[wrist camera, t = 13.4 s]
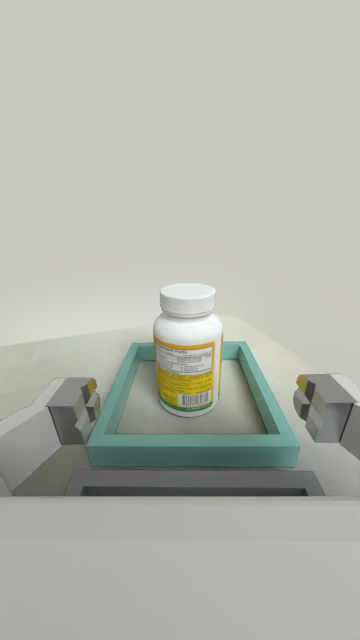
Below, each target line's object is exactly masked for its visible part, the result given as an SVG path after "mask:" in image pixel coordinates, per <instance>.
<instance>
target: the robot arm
mask: <svg viewBox="0 0 360 640" xmlns="http://www.w3.org/2000/svg"><path fill="white" fill-rule="evenodd" d="M296 383H297V385H298V386H299V388H298V389H297V390H296V391H295V392H294V397H293V401H294V407H295V410H296V412H297V414H298V416H299V417H300V418H302V419H303V420H305V421H306V425H305V427H306V429H307V431H308V432H309V434H310V435H311V437H312V439H313V440H314V442H317V443H340V445H341V446H342V447H344V448H345V449H346V450H347V451H349V452H350V453H351V454H353V455H354V456H355V457H356V458H358V459H359V460H360V389H359V388H358V387H357V386H355V385H354V384H353V383H352V382H351V381H350V380H349V379H348V378H347V377H346V376H344V375H343V374H341V373H329V374H305V375H299V376H298V378H297V382H296ZM96 387H97V384H96V381H95V379H94V378H55V379H53V380H52V381H51V383H50V384H49V385H48V386H47V387H46V388H45V389H44V391H43V392H42V393H41V394H40V395H39V396H38V398H37V399H36V400H35V401H34V402H33V403H32V405H31V406H30V407H25V408H23V409H21V410H19V411H17V412H16V413H14V414H12V415H10V416H8V417H6V418H5V419H3V420H1V421H0V640H360V496H259V497H206V496H12V495H11V492H12V491H13V490H14V489H16V488H17V487H18V486H19V485H20V484H21V483H22V482H23V481H24V480H25V479H26V478H28V477H29V476H30V475H31V474H32V473H33V472H34V471H35V470H36V469H37V468H38V467H39V466H41V465H42V464H43V463H44V462H45V461H46V460H47V459H48V458H49V457H50V456H51V455H53V454H54V453H55V452H56V451H57V450H58V449H59V448H60V447H61V445H73V444H85V442H86V440H87V438H88V435H89V433H90V431H91V429H92V428H91V424H90V423H92V422H93V421H94V420H95V419H96V418H97V416H98V413H99V409H100V397H99V394H98V393H96V392H95V389H96Z"/></svg>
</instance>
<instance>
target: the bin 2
mask: <svg viewBox="0 0 360 640" xmlns="http://www.w3.org/2000/svg"><path fill="white" fill-rule="evenodd" d="M64 496H206V497H259V496H326V495H325V493H324V491H323V489H322V487H321V485H320V483H319V481H318V480H317V478H316V476H315V474H314V472H313V471H165V470H75V471H74V474H73V476H72V478H71V480H70V482H69V485H68V487H67V489H66V491H65V494H64Z"/></svg>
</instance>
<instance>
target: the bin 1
mask: <svg viewBox="0 0 360 640" xmlns="http://www.w3.org/2000/svg"><path fill="white" fill-rule="evenodd" d="M226 359H239V361H240V364H241V366H242V369H243V371H244V374H245V376H246V379H247V381H248V384H249V386H250V389H251V391H252V394H253V397H254V399H255V402H256V404H257V407H258V409H259V412H260V414H261V417H262V419H263V422H264V424H265V427H266V429H267V432H268V434H118V435H115V432H116V429H117V426H118V423H119V420H120V417H121V414H122V412H123V409H124V406H125V403H126V400H127V397H128V394H129V391H130V388H131V385H132V382H133V379H134V376H135V373H136V370H137V367H138V364H139V361H140V360H156V358H155V346H154V343H132V345H131V347H130V349H129V352H128V354H127V356H126V358H125V361H124V363H123V365H122V367H121V369H120V372H119V374H118V376H117V378H116V381H115V383H114V385H113V387H112V389H111V392H110V394H109V396H108V398H107V400H106V403H105V405H104V407H103V409H102V412H101V414H100V416H99V418H98V420H97V423H96V425H95V427H94V429H93V432H92V434H91V436H90V438H89V440H88V443H87V445H86V448H87V452H88V455H89V459H90V463H91V466H207V467H295V464H296V460H297V457H298V453H299V449H300V445H299V443H298V441H297V439H296V437H295V435H294V433H293V432H292V430H291V428H290V426H289V424H288V422H287V420H286V418H285V416H284V414H283V412H282V410H281V408H280V407H279V405H278V403H277V401H276V399H275V397H274V395H273V393H272V391H271V389H270V387H269V385H268V383H267V382H266V380H265V378H264V376H263V374H262V372H261V370H260V368H259V366H258V364H257V362H256V360H255V358H254V357H253V355H252V353H251V351H250V349H249V347H248V345H247V343H246V341H239V342H223V344H222V360H226Z"/></svg>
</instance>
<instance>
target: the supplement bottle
mask: <svg viewBox="0 0 360 640" xmlns="http://www.w3.org/2000/svg"><path fill="white" fill-rule="evenodd" d="M160 306H161V309H162V311H163V313H162V314H160V316H158V317H157V319H156V320H155V322H154V326H153V335H154V346H155V358H156V372H157V383H158V394H159V400H160V402H161V404H162V406H163V407H164V408H165V409H166V410H168V411H169V412H171V413H173V414H175V415H177V416H181V417H197V416H201V415H204V414H206V413H208V412H209V411H211V410H212V409H213V408H214V407H215V406H216V404H217V402H218V400H219V392H220V376H221V360H222V344H223V323H222V321H221V319H220V318H219V317H218V316H217V315H216V314H215V313H213V310H214V308H215V306H216V290H215V289H214V288H213V287H211V286H208V285H204V284H196V283H181V284H173V285H169V286H166V287H164V288H162V289H161V290H160Z"/></svg>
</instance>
